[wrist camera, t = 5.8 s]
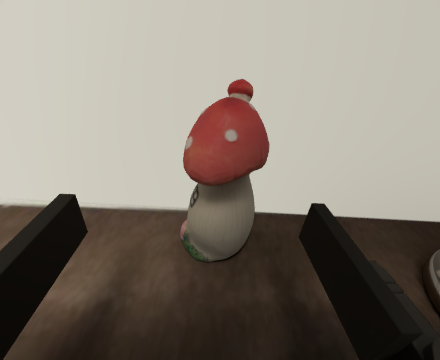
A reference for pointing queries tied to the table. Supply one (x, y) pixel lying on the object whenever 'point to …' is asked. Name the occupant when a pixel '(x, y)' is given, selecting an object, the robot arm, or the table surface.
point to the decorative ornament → (223, 174)
